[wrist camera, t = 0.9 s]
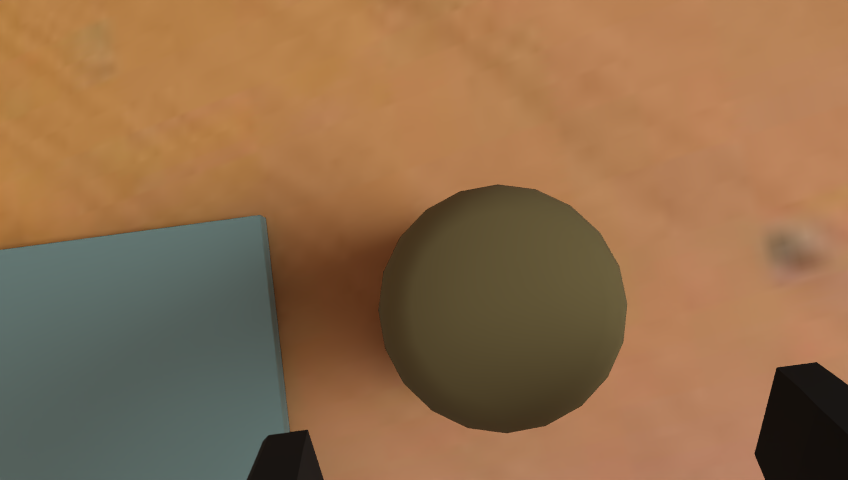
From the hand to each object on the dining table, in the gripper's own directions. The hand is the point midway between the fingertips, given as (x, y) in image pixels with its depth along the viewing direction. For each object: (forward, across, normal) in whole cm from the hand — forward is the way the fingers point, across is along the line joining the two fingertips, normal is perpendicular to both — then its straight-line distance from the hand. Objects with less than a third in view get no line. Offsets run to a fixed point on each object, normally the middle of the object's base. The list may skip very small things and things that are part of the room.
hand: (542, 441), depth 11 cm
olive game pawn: (+12, 0, +7) cm, 13 cm away
